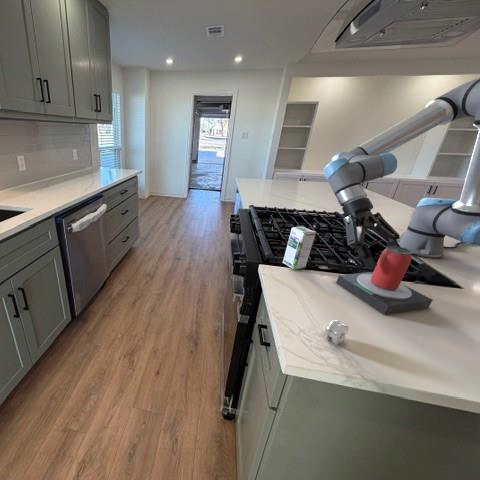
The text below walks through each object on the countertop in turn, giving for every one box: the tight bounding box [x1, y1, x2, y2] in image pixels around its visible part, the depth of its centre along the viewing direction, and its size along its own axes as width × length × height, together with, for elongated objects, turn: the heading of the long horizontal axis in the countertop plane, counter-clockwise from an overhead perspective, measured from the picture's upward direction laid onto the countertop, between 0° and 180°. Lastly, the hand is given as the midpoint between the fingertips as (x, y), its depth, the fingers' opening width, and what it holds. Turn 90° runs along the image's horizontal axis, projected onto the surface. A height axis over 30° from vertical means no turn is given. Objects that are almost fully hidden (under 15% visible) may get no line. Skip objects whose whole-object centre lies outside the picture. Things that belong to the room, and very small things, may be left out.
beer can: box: [371, 245, 413, 290], centre depth 75 cm, size 7×7×12 cm
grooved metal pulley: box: [323, 319, 350, 345], centre depth 60 cm, size 5×3×5 cm, turn 122°
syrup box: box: [282, 226, 317, 271], centre depth 92 cm, size 6×6×14 cm
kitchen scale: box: [336, 271, 434, 316], centre depth 78 cm, size 16×16×4 cm
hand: (387, 264), depth 76 cm, fingers open, 13 cm apart
